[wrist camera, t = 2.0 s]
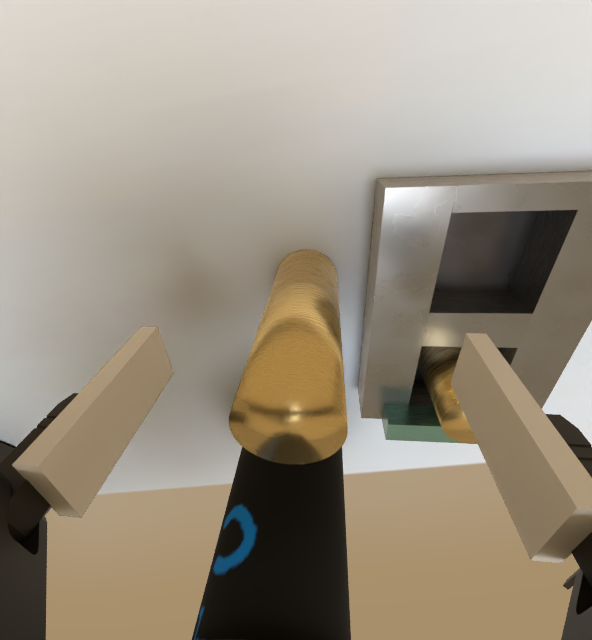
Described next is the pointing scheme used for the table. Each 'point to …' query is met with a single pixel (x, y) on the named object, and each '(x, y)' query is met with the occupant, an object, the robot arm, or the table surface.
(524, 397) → the robot arm
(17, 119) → the table surface
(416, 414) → the jig
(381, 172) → the table surface
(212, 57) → the table surface
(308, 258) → the brass rod
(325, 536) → the aerosol can
